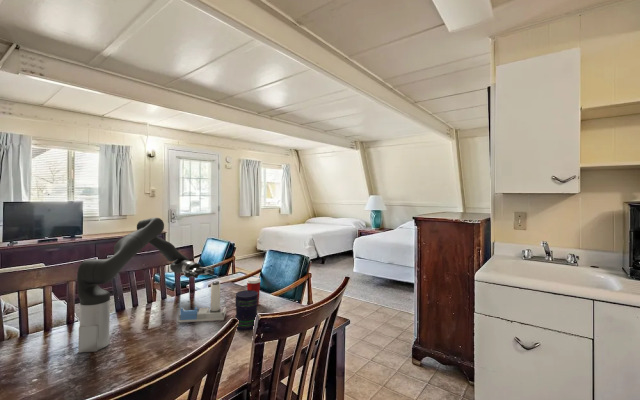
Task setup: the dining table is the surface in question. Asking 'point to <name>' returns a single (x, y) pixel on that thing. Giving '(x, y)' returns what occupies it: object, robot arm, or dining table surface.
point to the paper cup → (254, 285)
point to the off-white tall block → (215, 297)
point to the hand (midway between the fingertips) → (205, 274)
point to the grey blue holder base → (200, 315)
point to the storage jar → (246, 309)
